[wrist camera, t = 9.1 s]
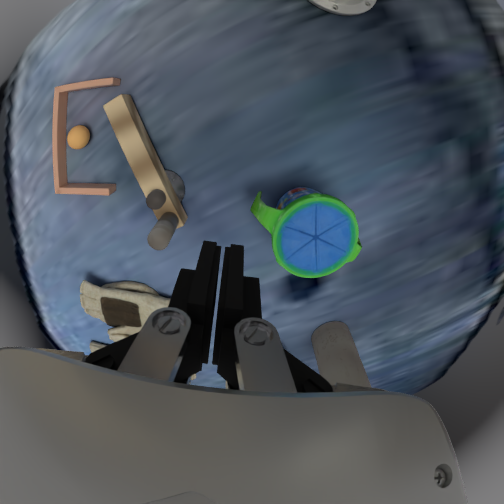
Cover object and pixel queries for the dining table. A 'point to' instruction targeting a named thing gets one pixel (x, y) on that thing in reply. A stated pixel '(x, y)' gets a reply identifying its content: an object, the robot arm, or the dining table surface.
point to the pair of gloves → (121, 307)
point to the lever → (146, 170)
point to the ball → (78, 137)
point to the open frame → (60, 140)
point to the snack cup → (310, 231)
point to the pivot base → (176, 184)
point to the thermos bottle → (338, 355)
